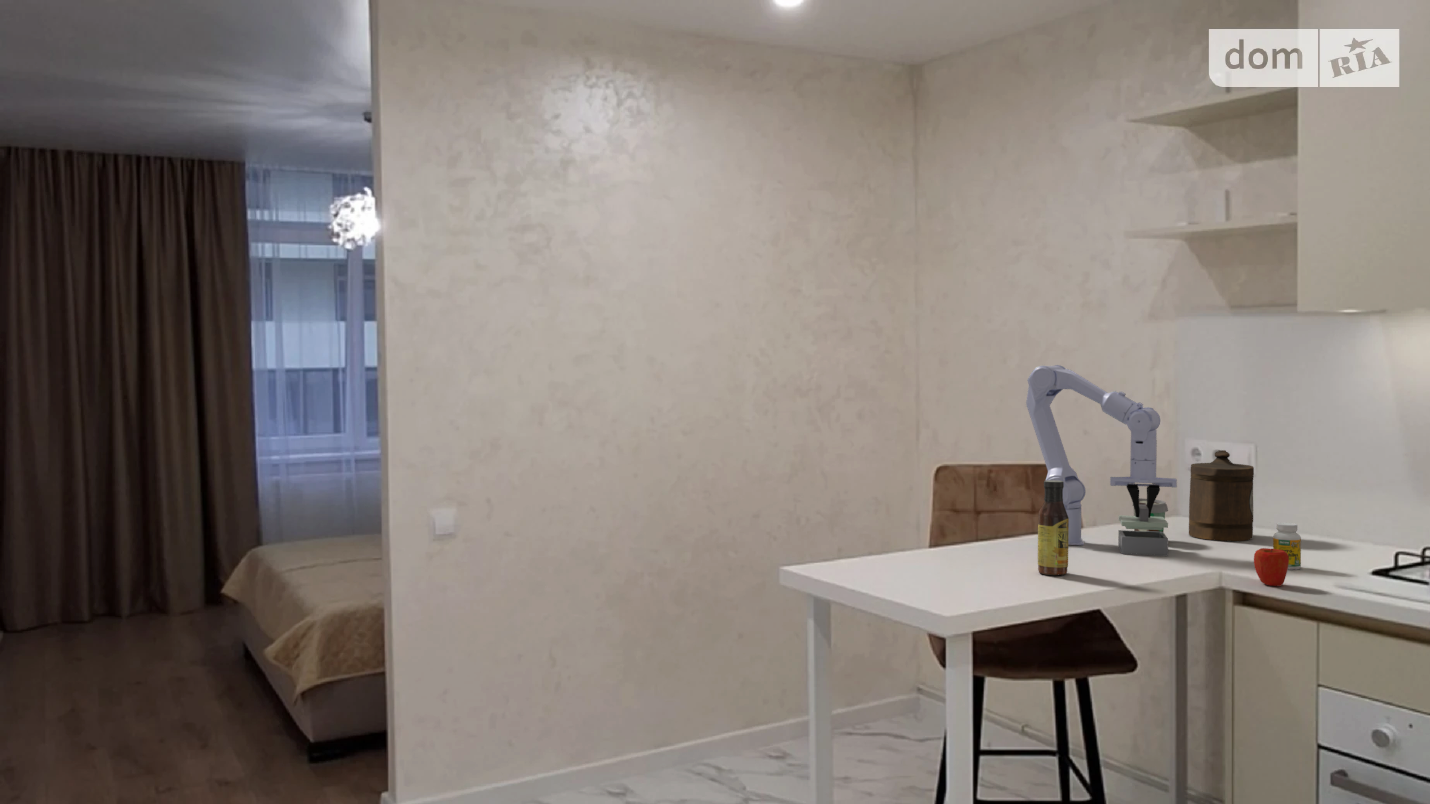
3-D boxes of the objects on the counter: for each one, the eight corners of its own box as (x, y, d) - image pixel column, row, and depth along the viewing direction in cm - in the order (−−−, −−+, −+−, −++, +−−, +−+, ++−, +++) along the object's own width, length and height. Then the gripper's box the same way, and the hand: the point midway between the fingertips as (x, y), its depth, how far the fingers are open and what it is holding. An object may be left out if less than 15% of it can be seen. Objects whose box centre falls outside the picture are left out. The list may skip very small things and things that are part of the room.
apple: (1246, 583, 225) (1247, 547, 224) (1268, 580, 227) (1268, 544, 227) (1273, 589, 219) (1274, 552, 219) (1295, 586, 222) (1296, 549, 221)
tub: (1121, 554, 258) (1121, 537, 258) (1118, 546, 268) (1118, 530, 267) (1167, 555, 255) (1168, 538, 255) (1162, 548, 265) (1162, 531, 265)
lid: (1121, 529, 258) (1122, 509, 257) (1118, 522, 267) (1118, 502, 267) (1167, 531, 255) (1168, 510, 255) (1162, 524, 265) (1163, 504, 264)
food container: (1175, 545, 269) (1176, 504, 268) (1150, 545, 269) (1150, 504, 268) (1156, 537, 281) (1157, 497, 280) (1132, 537, 281) (1132, 498, 281)
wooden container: (1266, 539, 276) (1267, 451, 275) (1217, 543, 272) (1218, 453, 271) (1223, 530, 290) (1224, 447, 289) (1175, 533, 286) (1176, 448, 285)
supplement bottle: (1298, 566, 242) (1298, 522, 242) (1303, 570, 237) (1303, 526, 237) (1270, 564, 244) (1271, 521, 243) (1275, 569, 239) (1275, 525, 238)
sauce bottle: (1063, 577, 232) (1064, 483, 231) (1033, 574, 235) (1034, 481, 234) (1071, 572, 237) (1072, 480, 237) (1042, 569, 241) (1043, 478, 240)
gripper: (1112, 460, 259) (1111, 518, 259) (1178, 461, 255) (1178, 520, 255) (1109, 457, 265) (1109, 513, 266) (1174, 458, 261) (1174, 516, 262)
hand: (1142, 516), depth 261 cm, fingers closed on lid
